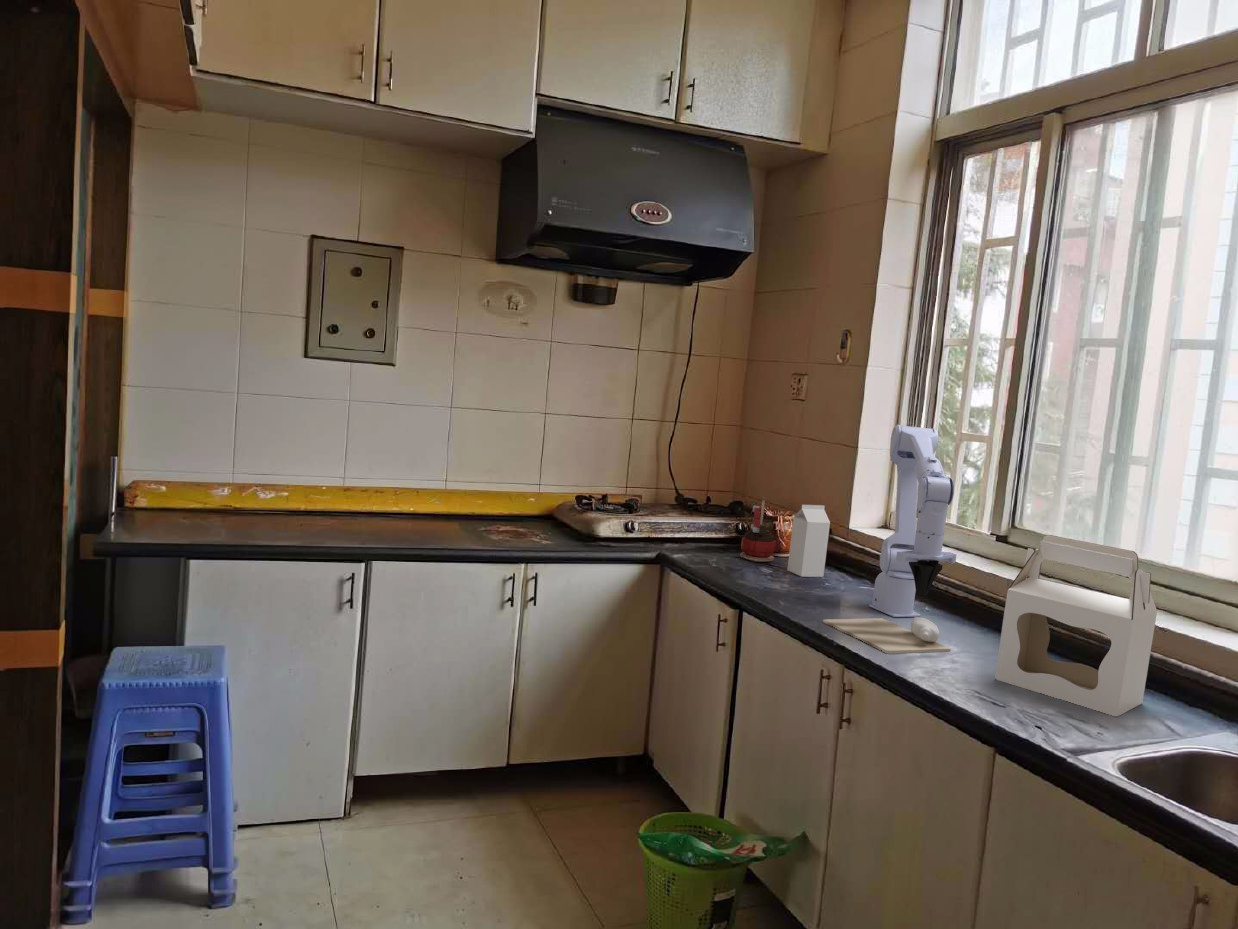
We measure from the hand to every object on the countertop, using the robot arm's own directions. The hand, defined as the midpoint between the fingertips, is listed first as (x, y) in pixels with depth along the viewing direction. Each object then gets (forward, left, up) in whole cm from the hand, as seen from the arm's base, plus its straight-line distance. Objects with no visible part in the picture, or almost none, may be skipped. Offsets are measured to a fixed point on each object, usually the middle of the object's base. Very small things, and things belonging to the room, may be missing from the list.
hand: (921, 595), depth 206 cm
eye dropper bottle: (+1, +1, -7) cm, 7 cm away
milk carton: (-55, +9, -9) cm, 56 cm away
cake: (-72, +4, -9) cm, 73 cm away
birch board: (0, -8, -9) cm, 12 cm away
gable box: (+35, +6, -9) cm, 37 cm away
